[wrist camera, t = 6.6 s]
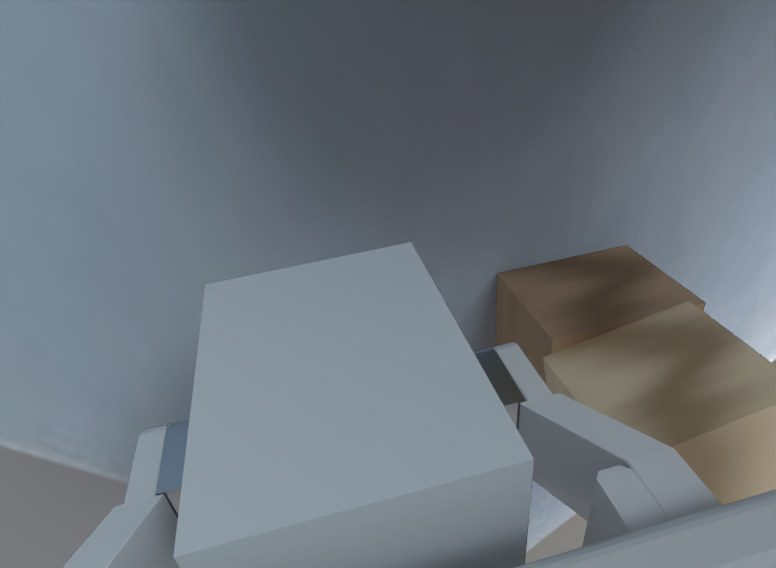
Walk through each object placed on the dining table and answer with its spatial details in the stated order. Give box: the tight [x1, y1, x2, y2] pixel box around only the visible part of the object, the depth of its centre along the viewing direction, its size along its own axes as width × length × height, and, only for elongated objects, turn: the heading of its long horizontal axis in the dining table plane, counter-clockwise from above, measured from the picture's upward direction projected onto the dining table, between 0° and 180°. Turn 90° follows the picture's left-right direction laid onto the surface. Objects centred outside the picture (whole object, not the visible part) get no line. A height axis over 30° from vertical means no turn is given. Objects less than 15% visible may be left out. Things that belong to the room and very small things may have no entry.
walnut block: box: [495, 245, 706, 384], centre depth 23 cm, size 6×6×5 cm
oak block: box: [543, 301, 776, 505], centre depth 19 cm, size 6×6×5 cm
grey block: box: [173, 242, 534, 568], centre depth 10 cm, size 4×4×6 cm
